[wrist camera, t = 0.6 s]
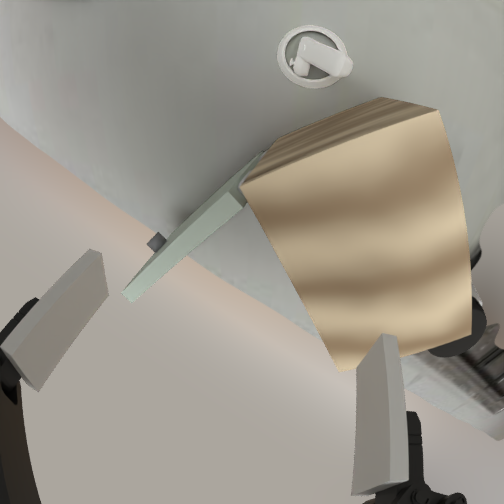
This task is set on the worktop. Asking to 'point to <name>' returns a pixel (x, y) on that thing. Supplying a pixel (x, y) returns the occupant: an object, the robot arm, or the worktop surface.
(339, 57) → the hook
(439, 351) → the jar
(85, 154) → the worktop surface
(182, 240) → the door
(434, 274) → the cabinet
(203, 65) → the worktop surface
